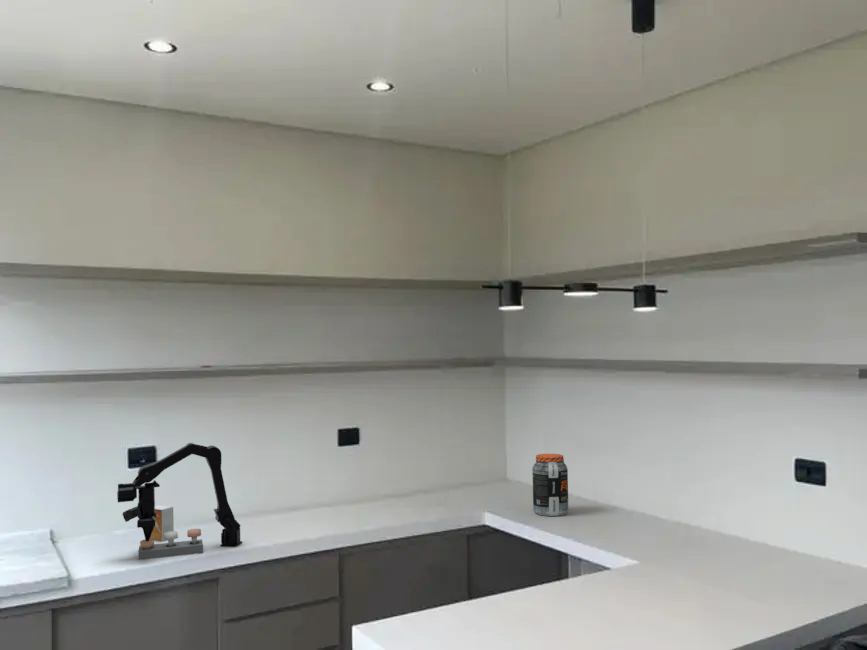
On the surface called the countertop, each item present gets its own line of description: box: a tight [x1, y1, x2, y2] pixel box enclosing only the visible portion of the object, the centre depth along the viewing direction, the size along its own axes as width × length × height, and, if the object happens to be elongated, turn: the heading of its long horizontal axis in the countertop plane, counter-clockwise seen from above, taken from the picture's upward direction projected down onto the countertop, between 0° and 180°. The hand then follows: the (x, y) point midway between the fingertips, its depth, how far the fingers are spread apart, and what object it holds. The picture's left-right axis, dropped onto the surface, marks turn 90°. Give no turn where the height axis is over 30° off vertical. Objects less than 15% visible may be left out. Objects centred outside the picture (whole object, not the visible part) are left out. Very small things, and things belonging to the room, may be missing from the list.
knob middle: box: [164, 530, 179, 547], centre depth 290 cm, size 5×5×5 cm
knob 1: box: [139, 539, 155, 549], centre depth 287 cm, size 5×5×5 cm
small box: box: [150, 504, 175, 542], centre depth 312 cm, size 8×6×13 cm
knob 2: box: [186, 528, 202, 544], centre depth 292 cm, size 5×5×5 cm
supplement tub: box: [532, 453, 569, 517], centre depth 341 cm, size 16×16×26 cm
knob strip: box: [137, 539, 204, 561], centre depth 290 cm, size 23×9×3 cm, turn 109°
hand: (147, 540), depth 287 cm, fingers closed, pressing on knob 1
